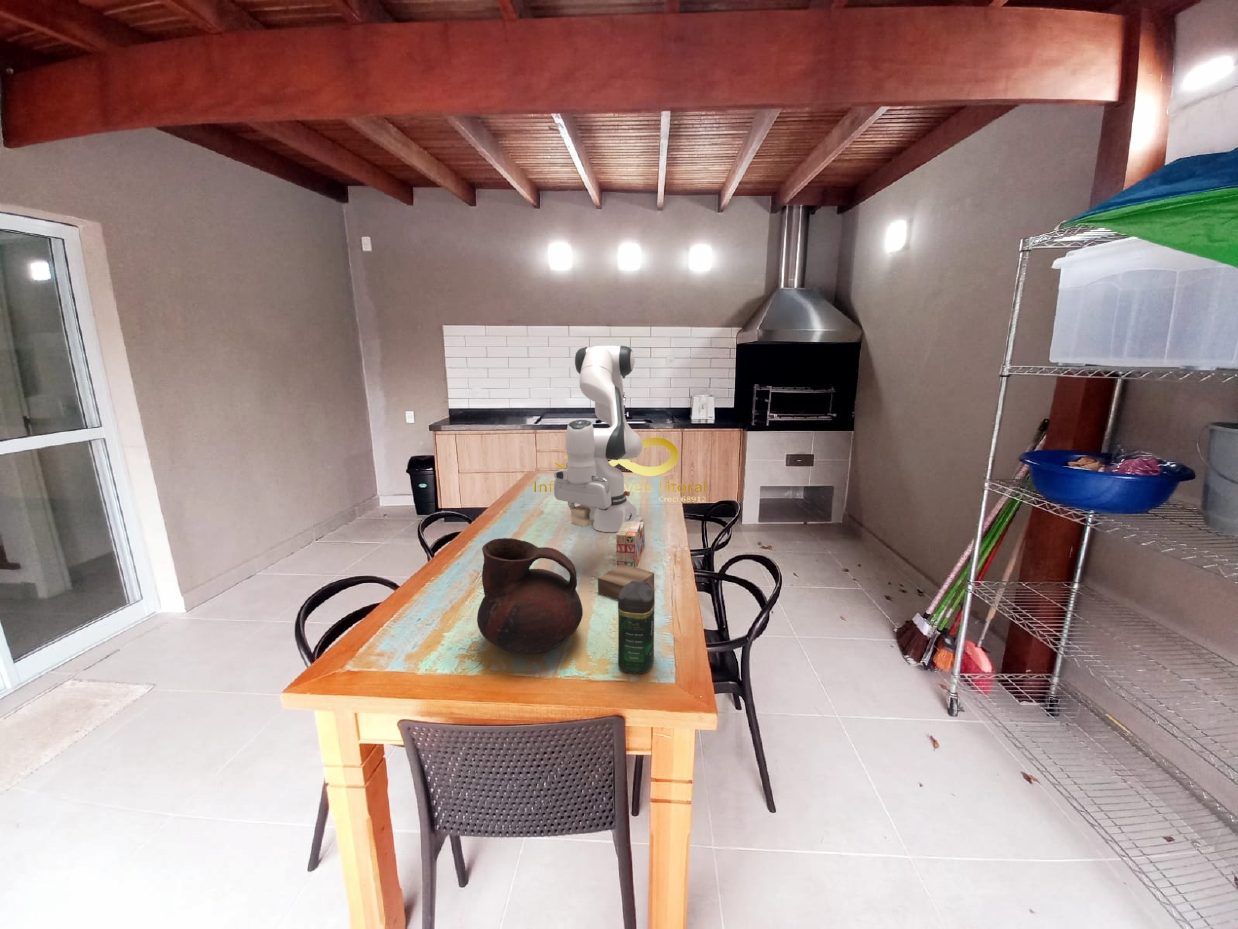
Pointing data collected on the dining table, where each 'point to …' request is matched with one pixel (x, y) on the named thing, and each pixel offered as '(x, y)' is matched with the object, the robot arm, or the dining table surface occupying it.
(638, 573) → the walnut block
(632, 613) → the coffee jar
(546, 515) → the dining table surface
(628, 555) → the stack of blocks
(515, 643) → the jug
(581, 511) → the beige wooden cube
